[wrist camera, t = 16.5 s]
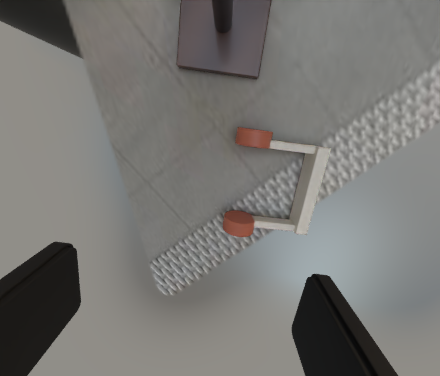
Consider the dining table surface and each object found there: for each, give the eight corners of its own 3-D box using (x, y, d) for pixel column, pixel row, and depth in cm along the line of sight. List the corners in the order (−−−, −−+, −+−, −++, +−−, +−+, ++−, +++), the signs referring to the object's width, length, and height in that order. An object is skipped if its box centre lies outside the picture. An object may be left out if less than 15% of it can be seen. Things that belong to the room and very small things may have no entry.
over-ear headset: (223, 235, 28) (306, 243, 29) (240, 127, 24) (336, 140, 25) (221, 220, 32) (294, 228, 33) (235, 126, 28) (318, 138, 29)
